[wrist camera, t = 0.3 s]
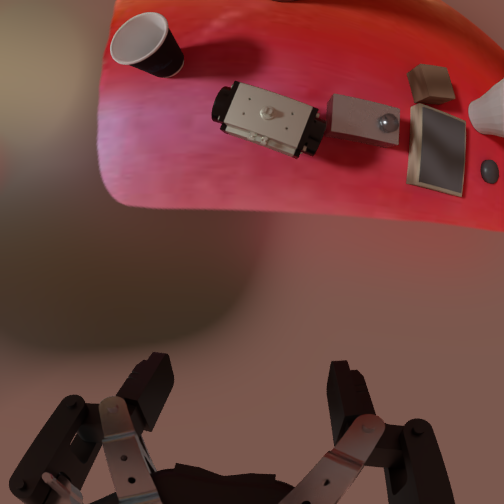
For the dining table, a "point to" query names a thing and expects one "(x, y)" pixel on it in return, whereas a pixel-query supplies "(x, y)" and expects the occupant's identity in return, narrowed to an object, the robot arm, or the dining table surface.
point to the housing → (362, 121)
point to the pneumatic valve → (268, 119)
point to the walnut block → (430, 84)
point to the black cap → (489, 171)
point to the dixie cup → (148, 45)
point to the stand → (436, 150)
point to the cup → (489, 111)
